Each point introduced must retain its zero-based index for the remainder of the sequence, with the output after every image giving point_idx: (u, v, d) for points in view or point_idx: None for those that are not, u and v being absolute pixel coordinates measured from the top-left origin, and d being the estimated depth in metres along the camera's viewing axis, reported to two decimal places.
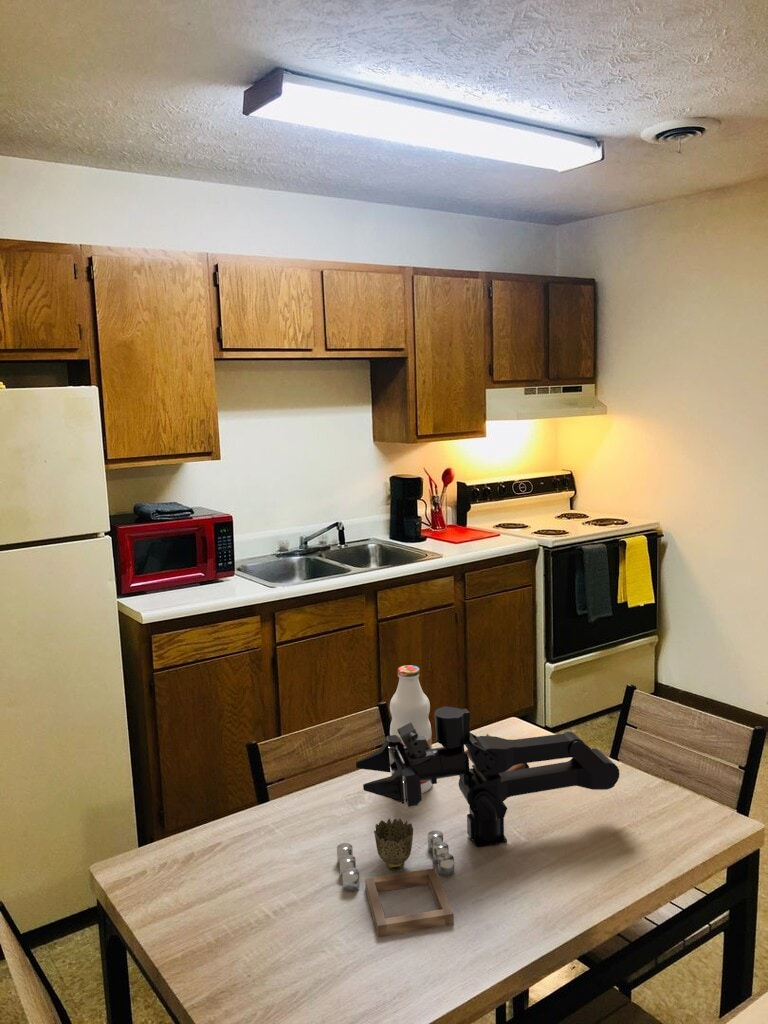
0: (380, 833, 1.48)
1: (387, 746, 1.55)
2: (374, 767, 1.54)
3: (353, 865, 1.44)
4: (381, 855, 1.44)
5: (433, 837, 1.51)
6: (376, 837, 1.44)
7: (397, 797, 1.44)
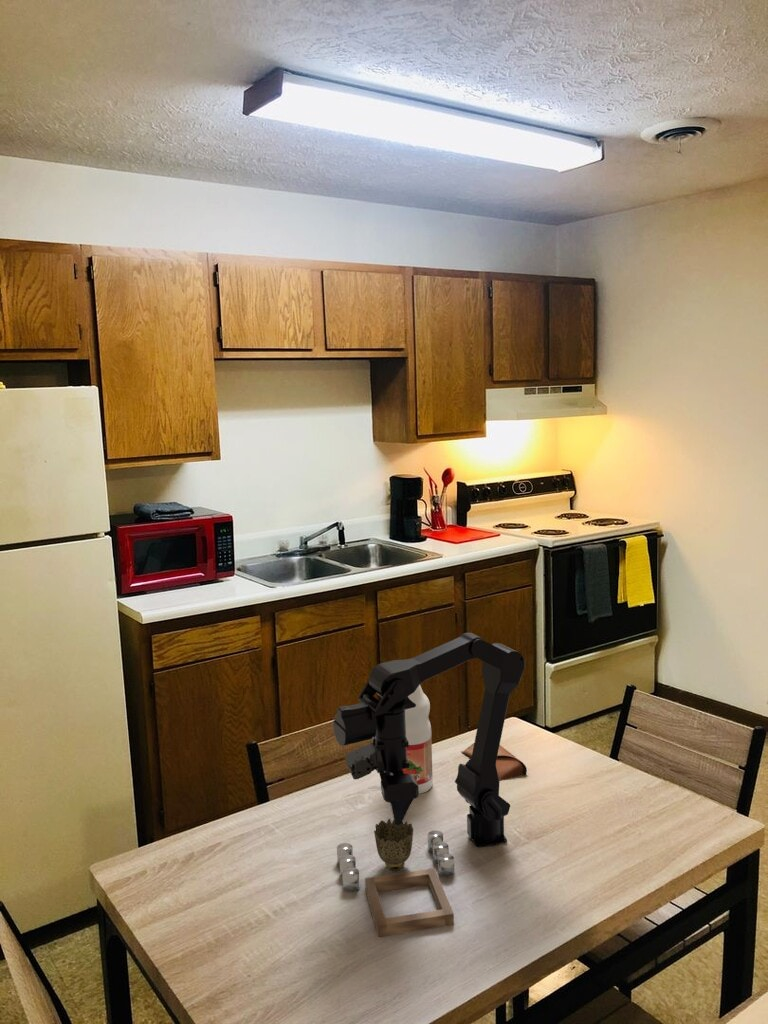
0: (380, 833, 1.48)
1: None
2: None
3: (353, 865, 1.44)
4: (381, 855, 1.44)
5: (433, 837, 1.51)
6: (376, 837, 1.44)
7: None
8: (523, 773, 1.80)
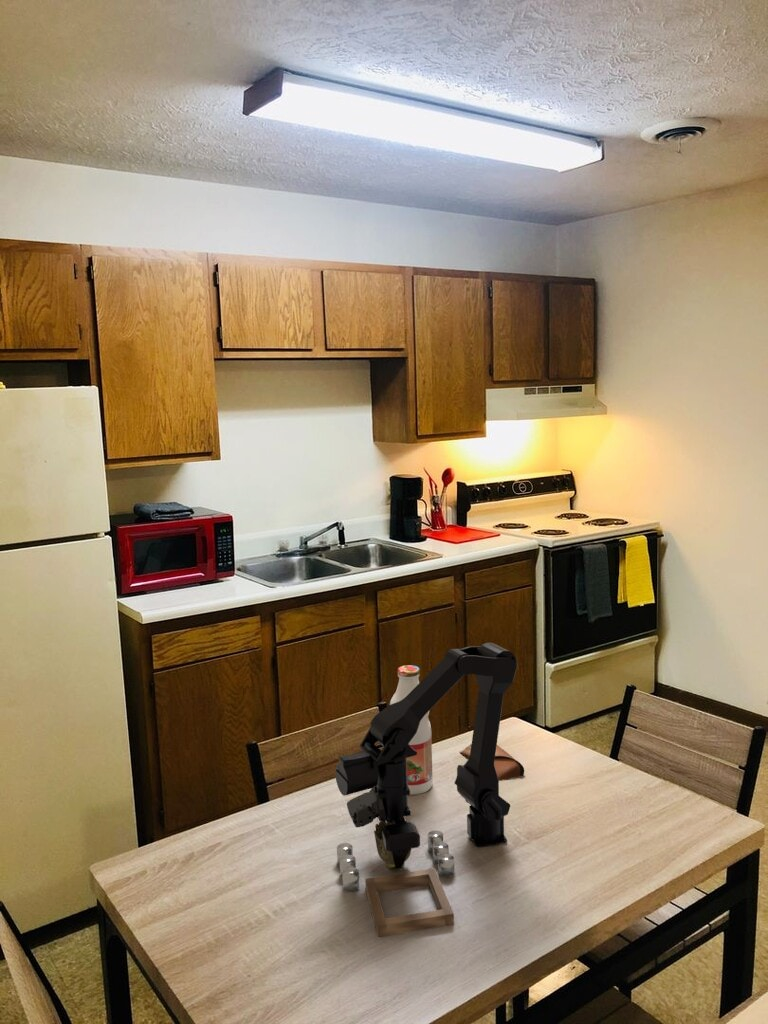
0: (380, 833, 1.48)
1: None
2: None
3: (353, 865, 1.44)
4: (381, 855, 1.44)
5: (433, 837, 1.51)
6: (376, 837, 1.44)
7: None
8: (520, 774, 1.80)
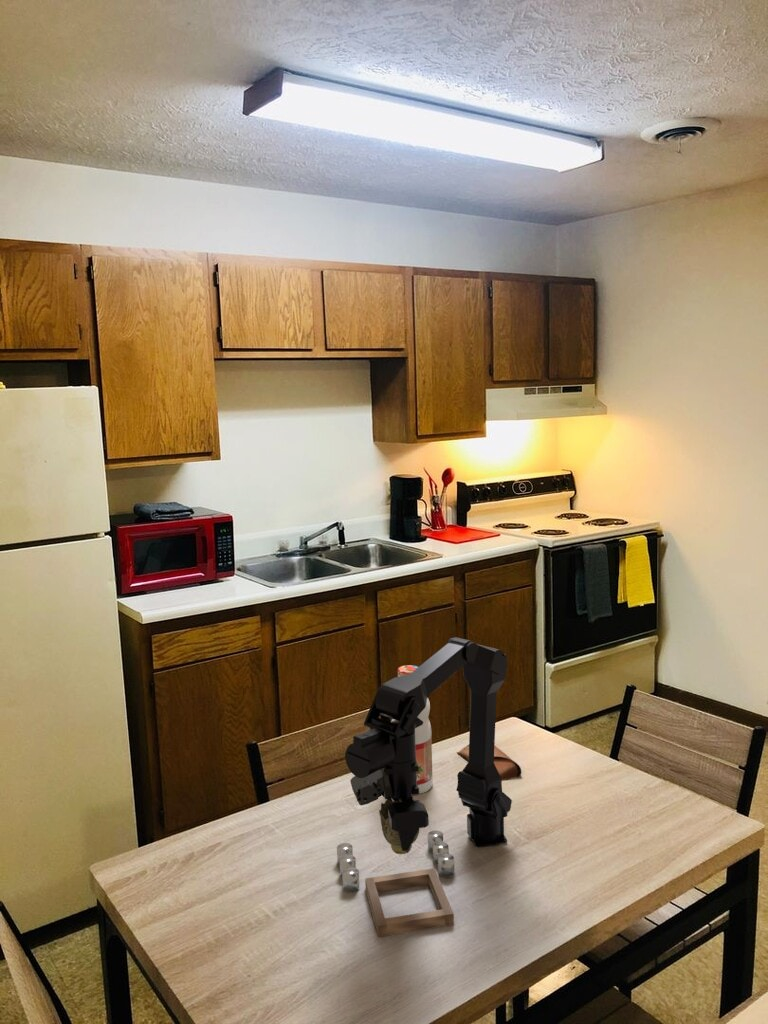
0: (386, 813, 1.38)
1: (382, 794, 1.39)
2: None
3: (353, 865, 1.44)
4: (386, 836, 1.34)
5: (433, 837, 1.51)
6: (381, 817, 1.34)
7: None
8: (518, 774, 1.80)
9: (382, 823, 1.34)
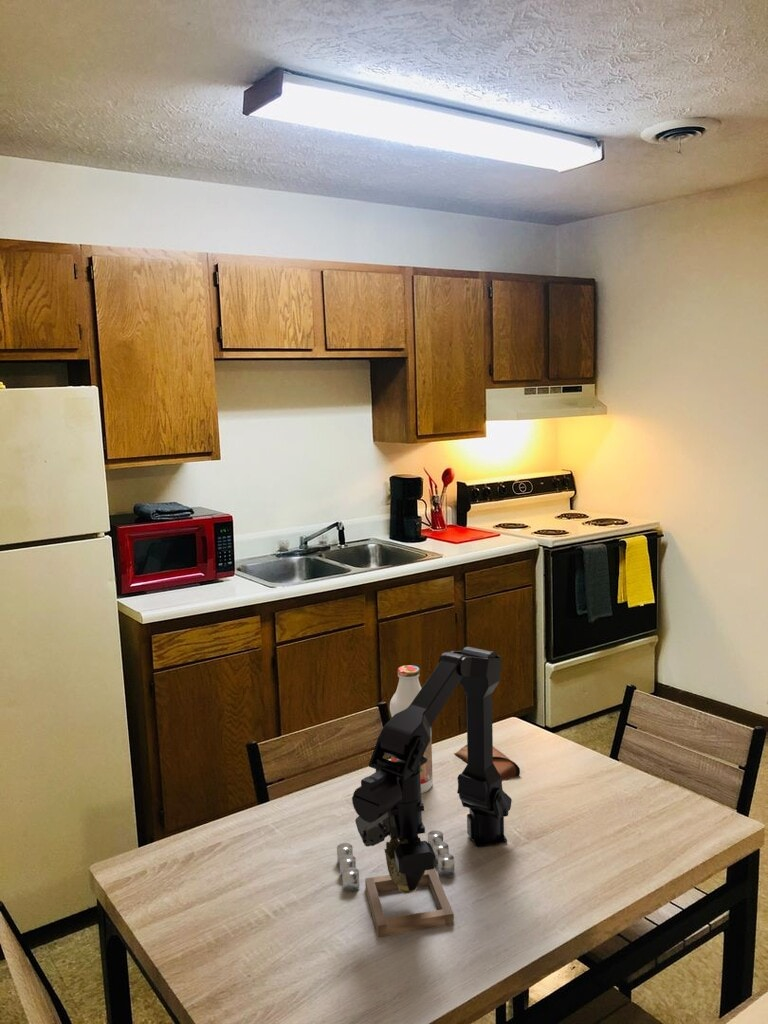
0: (391, 852, 1.37)
1: None
2: None
3: (353, 865, 1.44)
4: (392, 876, 1.33)
5: (433, 837, 1.51)
6: (387, 856, 1.33)
7: None
8: (516, 774, 1.80)
9: (388, 863, 1.33)
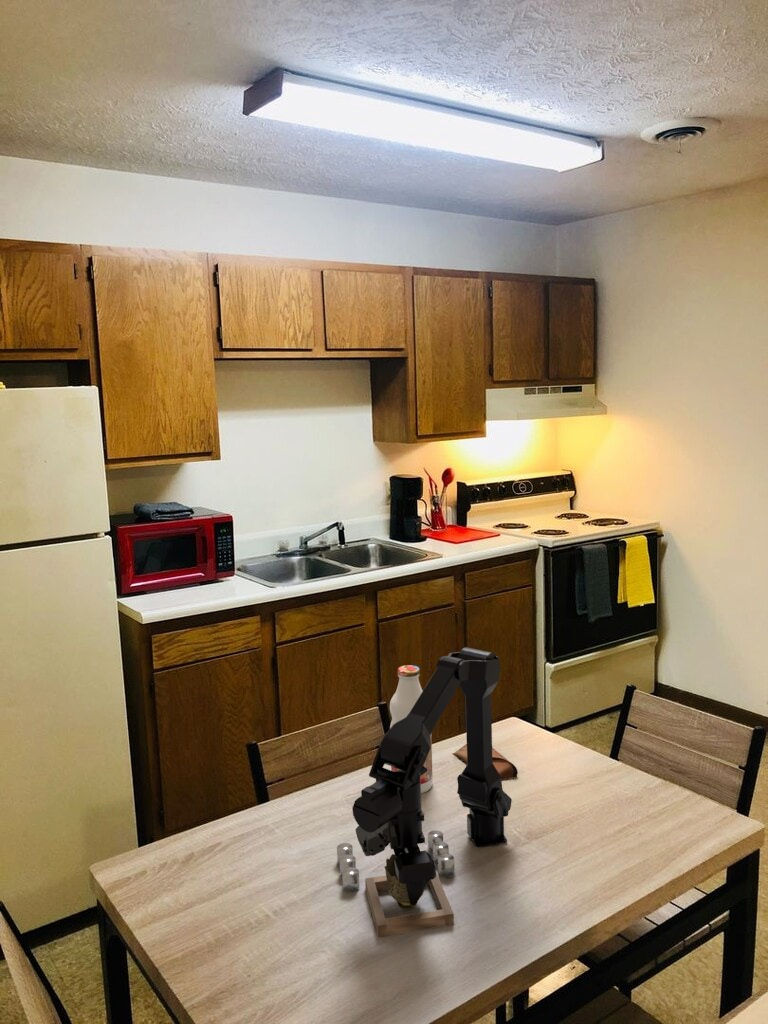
0: (391, 868, 1.37)
1: None
2: None
3: (353, 865, 1.44)
4: (392, 893, 1.33)
5: (433, 837, 1.51)
6: (387, 874, 1.33)
7: None
8: (514, 775, 1.80)
9: (388, 880, 1.34)
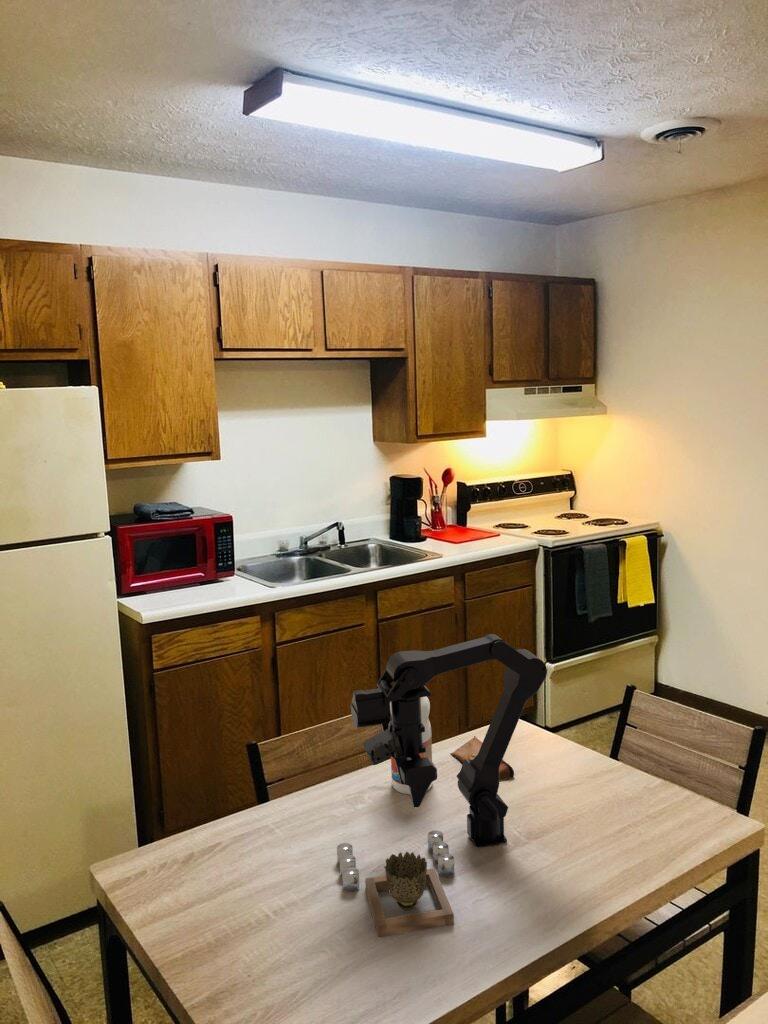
0: (391, 868, 1.37)
1: None
2: None
3: (353, 865, 1.44)
4: (392, 893, 1.33)
5: (433, 837, 1.51)
6: (387, 874, 1.33)
7: None
8: (510, 776, 1.79)
9: (388, 880, 1.34)
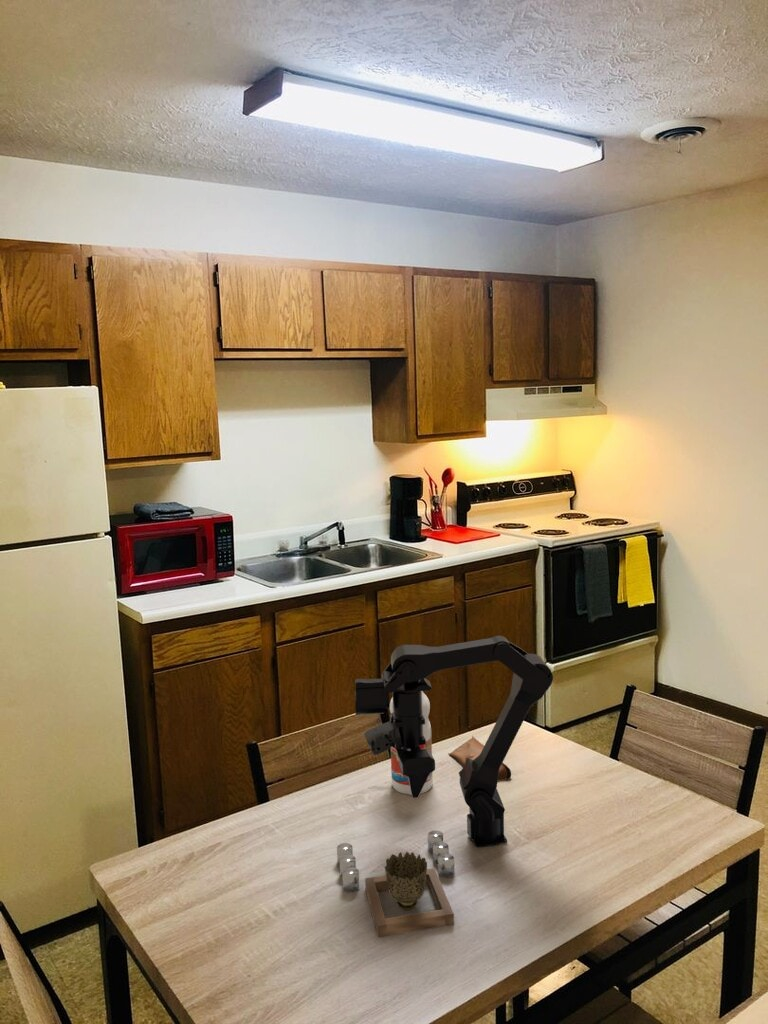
0: (391, 868, 1.37)
1: None
2: None
3: (353, 865, 1.44)
4: (392, 893, 1.33)
5: (433, 837, 1.51)
6: (387, 874, 1.33)
7: None
8: (507, 777, 1.79)
9: (388, 880, 1.34)
